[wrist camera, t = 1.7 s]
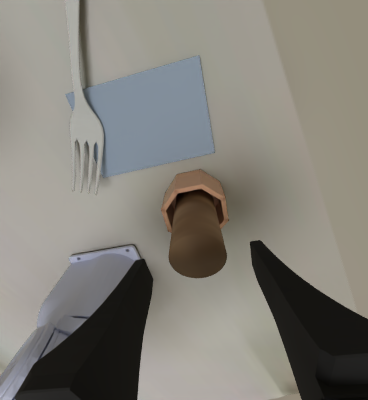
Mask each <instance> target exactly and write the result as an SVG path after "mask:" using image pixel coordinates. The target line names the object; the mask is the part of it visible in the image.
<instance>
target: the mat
mask: <svg viewBox="0 0 368 400" xmlns="http://www.w3.org/2000/svg"><path fill="white" fill-rule="evenodd" d="M83 93H84V96H85V99H86V101H87V103H88V105H89V106H90V108H91V109H92V111H93V112H94V113H95V115H96V116H97V118H98V119H99V120H100V123H101V125H102V127H103V133H104V144H103V155H102V164H101V174H102V176H103V178H104V177H109V176H113V175H118V174H122V173H127V172H131V171H136V170H140V169H144V168H149V167H153V166H158V165H162V164H167V163H171V162H176V161H180V160H185V159H189V158H193V157H198V156H202V155H207V154H211V153H215V151H214V145H213V139H212V132H211V126H210V120H209V114H208V107H207V101H206V95H205V89H204V82H203V76H202V70H201V64H200V57H199V55H198V56H195V57H192V58H188V59H185V60H181V61H178V62H174V63H171V64H168V65H164V66H161V67H157V68H154V69H151V70H147V71H144V72H140V73H137V74H133V75H130V76H127V77H123V78H120V79H116V80H113V81H109V82H106V83H103V84H99V85H96V86H92V87H89V88H86V89H83ZM65 95H66V97H67V100H68V102H69V104H70V106H71V108H72V111H73V110H74V107H75V96H74V92H72V93H68V94H65ZM87 143H88V142H87ZM88 146H89V144H88ZM94 159H95V161H96V163H97V161H98V145H97V142H96V143H95V146H94Z"/></svg>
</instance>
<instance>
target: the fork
mask: <svg viewBox="0 0 368 400" xmlns="http://www.w3.org/2000/svg"><path fill="white" fill-rule="evenodd" d="M65 8H66V17H67V26H68V35H69V48H70V61H71V73H72V82H73V89H74V96H75V107H74V110H73V113H72V115H71V119H70V126H69V131H70V142H71V151H72V191H74V190H75V181H76V140H78V142H79V145H80V193H82V187H83V180H84V162H85V143H86V141H87V142H88V144H89V169H88V190H87V193H88V194H89V193H90V187H91V181H92V171H93V158H94V146H95V143H96V142H97V145H98V161H97V172H96V183H95V195H97V191H98V186H99V180H100V172H101V164H102V155H103V144H104V133H103V127H102V125H101V123H100V120H99V119H98V118H97V116H96V115H95V113H94V112H93V111H92V109H91V108H90V106H89V105H88V103H87V101H86V99H85V96H84V93H83V89H82V84H81V76H80V61H79V9H80V0H65Z"/></svg>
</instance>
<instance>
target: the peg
mask: <svg viewBox="0 0 368 400" xmlns="http://www.w3.org/2000/svg"><path fill="white" fill-rule="evenodd" d="M226 259H227V253H226V249H225V245H224V241H223V237H222V233H221V229H220V225H219V221H218V217H217V212H216V208H215V204H214V200H213V196H212V195H211V194H210V193H208V192H206V191H204V190H203V189H197V190H192V191H187V192H182V193H178V194H177V196H176V203H175V211H174V219H173V226H172V234H171V241H170V249H169V262H170V264H171V266H172V267H173V269H174V270H175V271H177V272H178V273H179V274H181V275H184V276H186V277H191V278H204V277H208V276H211V275H214V274H215V273H217V272H218V271H220V270H221V269H222V268H223V266H224V265H225V263H226Z"/></svg>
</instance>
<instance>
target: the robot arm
mask: <svg viewBox="0 0 368 400" xmlns="http://www.w3.org/2000/svg"><path fill="white" fill-rule="evenodd" d="M250 247H251V258H252V266H253V269H254V272H255V275H256V278H257V281H258V283H259V285H260V287H261V290H262V292H263V294H264V296H265V299H266V301H267V303H268V305H269V307H270V310H271V312H272V314H273V317H274V319H275V322H276V324H277V327H278V330H279V333H280V336H281V339H282V341H283V344H284V347H285V350H286V353H287V356H288V359H289V362H290V365H291V368H292V371H293V374H294V377H295V380H296V383H297V387H298V390H299V393H300V396H301V399H302V400H368V319H367V318H365V317H362V316H361V315H359V314H357V313H355V312H353V311H352V310H350V309H348V308H346V307H344V306H343V305H341V304H339V303H338V302H336V301H335V300H333V299H331V298H330V297H328V296H326V295H325V294H323V293H322V292H320V291H319V290H317V289H316V288H314V287H313V286H312V285H310V284H309V283H307V282H306V281H305V280H303V279H302V278H301V277H299V276H298V275H297V274H296V273H294V272H293V271H292V270H291V269H290V268H288V267H287V266H286V265H285V264H284V263H283V262H282V261H281V260H279V259H278V258H277V257H276V256H275V255H274V254H273V253H272V252H271V251H270V250H269V249H268V248H267V247H266V246H265V245H264V244H263V242H262V241H260V240H258V241H251V242H250ZM127 249H129V250H127ZM69 261H70V262H71V265H70V266H69V267H68V269H67V270H66V272H65V273H64V274H63V276H62V277H61V278H60V280H59V281H58V283H57V284H56V285H55V287H54V288H53V289H52V291H51V292H50V294H49V295H48V296H47V298H46V299H45V301H44V302H43V304H42V306H41V309H40V311H39V315H38V319H37V329H36V330H35V331H34V332H33V333H32V334H31V335H30V336H29V338H28V339H27V340H26V342H25V343H24V344H23V345H22V347H21V348H20V349H19V351H18V352H17V353H16V355H15V356H14V358H13V359H12V360H11V362H10V363H9V365H8V366H7V367H6V369H5V370H4V372H3V373H2V375H1V376H0V400H137V395H138V381H139V369H140V359H141V350H142V342H143V334H144V329H145V324H146V319H147V315H148V310H149V305H150V300H151V295H152V287H153V278H152V275H151V273H150V271H149V269H148V266H147V264H146V262H145V260H144V259H140V256H139V254H138V252H137V250H136V248H135V246H133V245H129V246H123V247H117V248H111V249H106V250H100V251H94V252H88V253H83V254H77V255H71V256H70V257H69Z"/></svg>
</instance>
